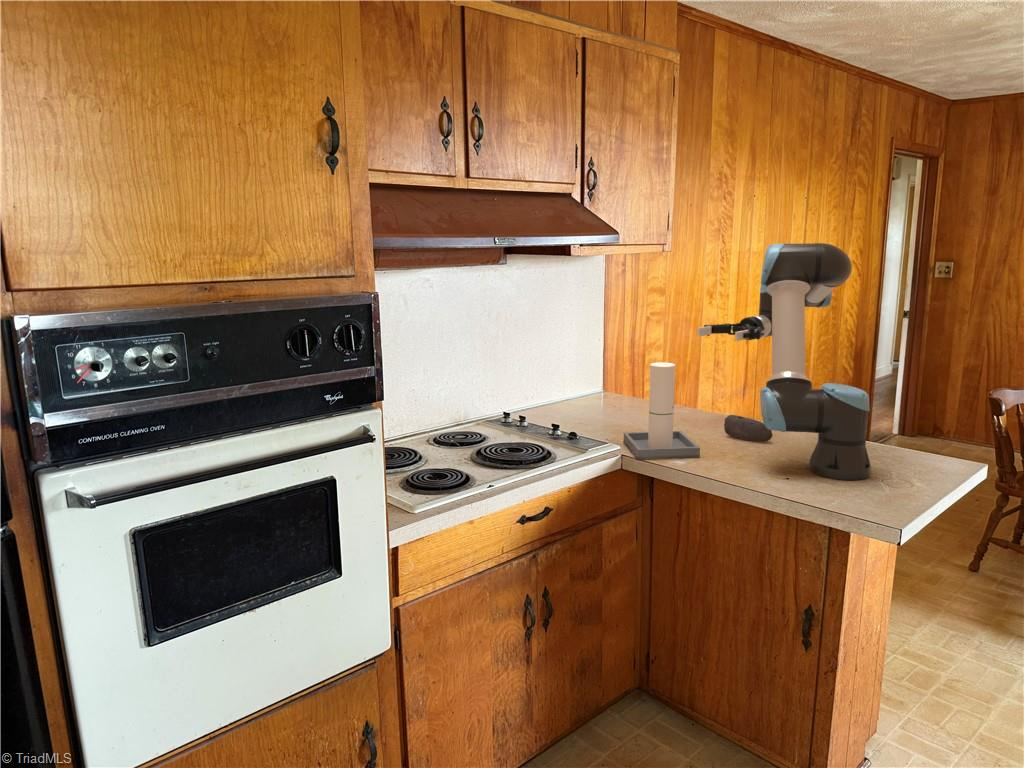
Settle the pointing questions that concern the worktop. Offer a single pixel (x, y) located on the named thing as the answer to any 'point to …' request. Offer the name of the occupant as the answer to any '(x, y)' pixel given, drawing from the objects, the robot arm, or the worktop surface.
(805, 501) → the worktop surface
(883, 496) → the worktop surface
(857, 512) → the worktop surface
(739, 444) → the worktop surface
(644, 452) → the slate tray
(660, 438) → the cylindrical container
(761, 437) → the perforated stone tool
